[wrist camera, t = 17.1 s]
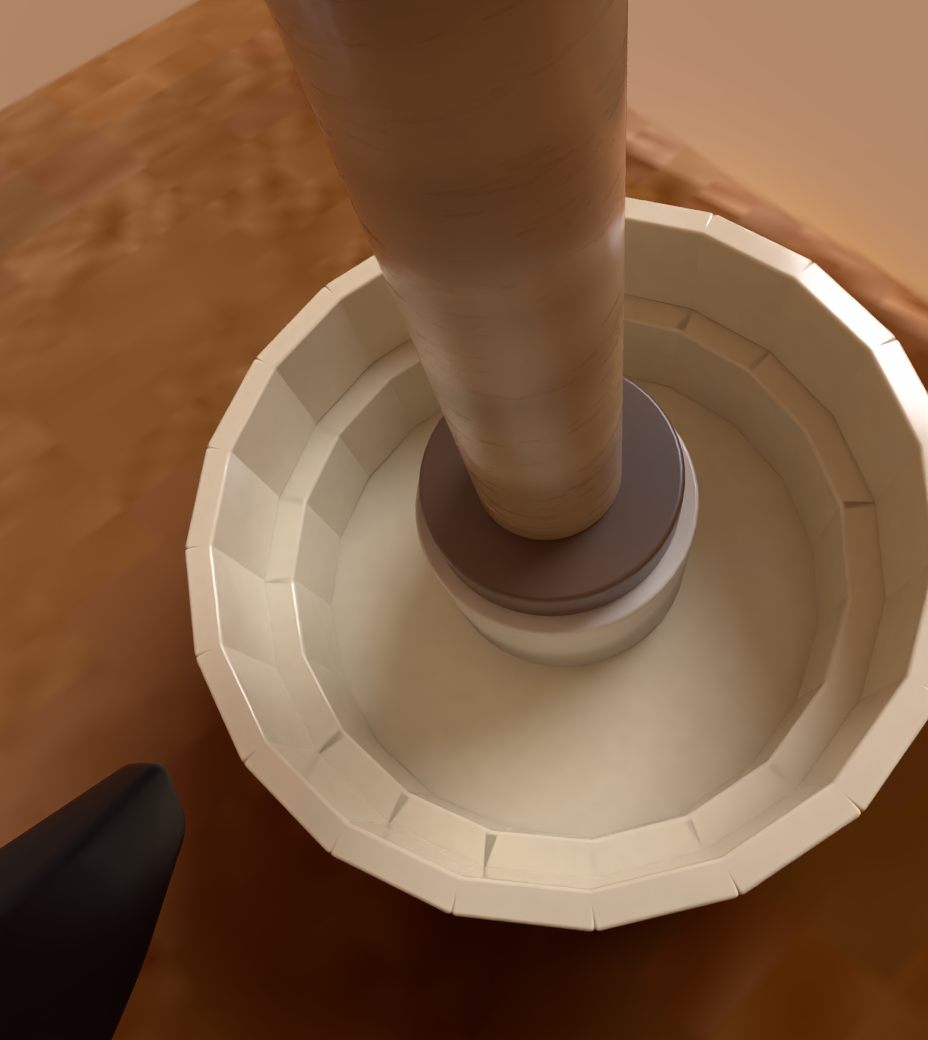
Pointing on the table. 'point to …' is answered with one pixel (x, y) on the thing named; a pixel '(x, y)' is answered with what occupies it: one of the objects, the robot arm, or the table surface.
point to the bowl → (595, 687)
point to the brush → (510, 303)
